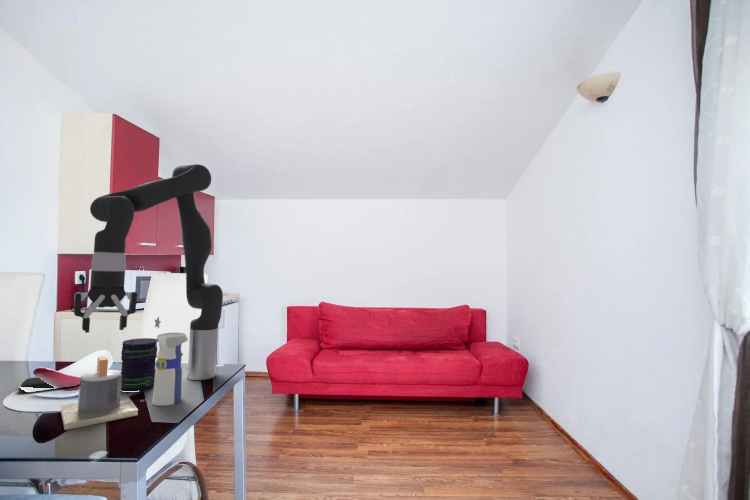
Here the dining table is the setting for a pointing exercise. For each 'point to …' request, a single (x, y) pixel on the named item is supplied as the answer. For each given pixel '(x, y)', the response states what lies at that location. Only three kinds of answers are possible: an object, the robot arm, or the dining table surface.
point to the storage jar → (138, 364)
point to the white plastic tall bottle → (168, 368)
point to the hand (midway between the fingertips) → (104, 330)
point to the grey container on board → (98, 404)
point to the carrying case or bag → (35, 383)
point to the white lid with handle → (101, 372)
